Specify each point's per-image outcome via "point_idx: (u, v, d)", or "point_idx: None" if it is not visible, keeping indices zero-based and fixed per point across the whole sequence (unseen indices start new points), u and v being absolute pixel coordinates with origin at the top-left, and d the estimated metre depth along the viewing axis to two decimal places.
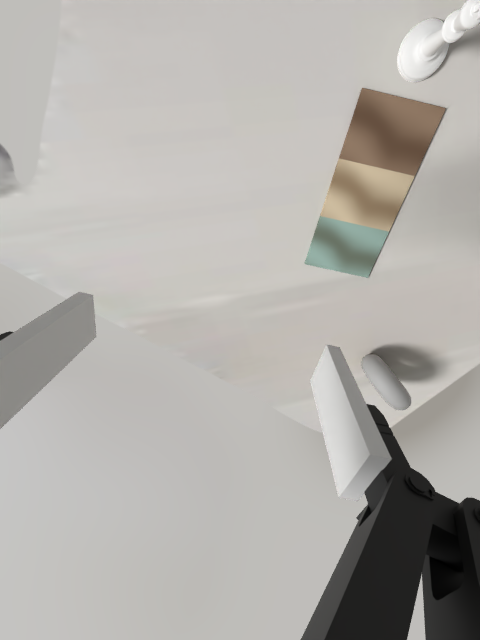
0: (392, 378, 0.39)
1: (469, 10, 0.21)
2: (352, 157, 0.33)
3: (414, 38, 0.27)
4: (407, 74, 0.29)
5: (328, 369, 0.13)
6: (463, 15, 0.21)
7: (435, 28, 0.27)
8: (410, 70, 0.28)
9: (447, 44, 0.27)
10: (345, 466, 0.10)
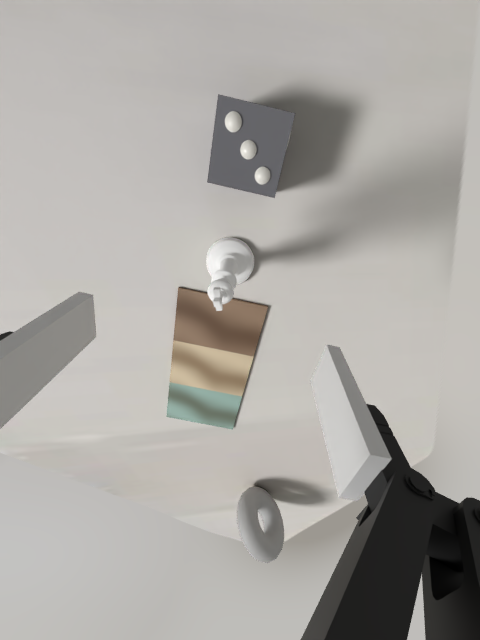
0: (255, 534, 0.39)
1: (213, 294, 0.20)
2: (185, 339, 0.32)
3: (214, 256, 0.26)
4: None
5: (328, 369, 0.13)
6: (209, 296, 0.20)
7: (232, 250, 0.25)
8: None
9: (250, 261, 0.26)
10: (345, 466, 0.10)
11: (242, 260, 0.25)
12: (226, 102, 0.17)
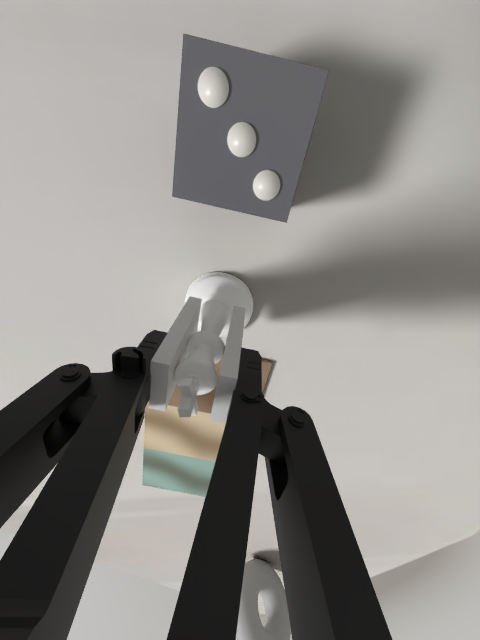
0: (255, 636, 0.30)
1: None
2: None
3: None
4: None
5: None
6: (177, 384, 0.12)
7: (221, 292, 0.17)
8: None
9: (247, 306, 0.18)
10: None
11: (235, 305, 0.18)
12: (199, 49, 0.09)
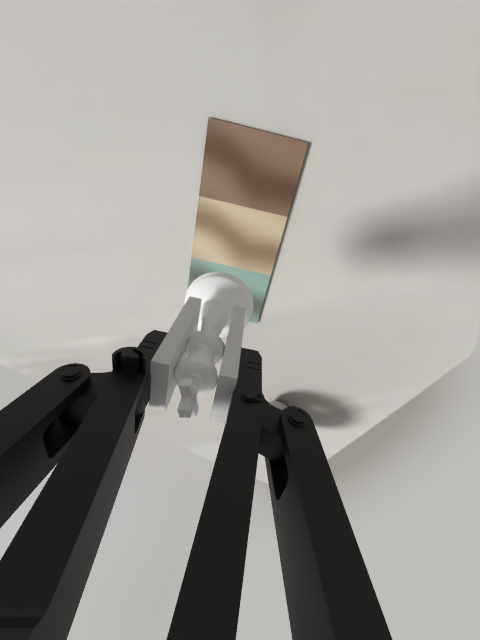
0: None
1: None
2: (213, 194, 0.28)
3: None
4: None
5: None
6: (177, 384, 0.12)
7: (221, 292, 0.17)
8: None
9: (247, 306, 0.18)
10: None
11: (235, 305, 0.18)
12: None
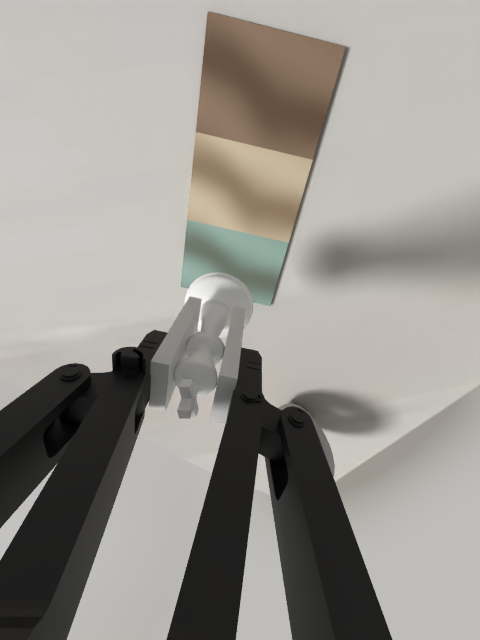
0: None
1: None
2: (214, 130, 0.21)
3: None
4: None
5: None
6: (177, 384, 0.12)
7: (221, 292, 0.17)
8: None
9: (247, 307, 0.18)
10: None
11: (235, 305, 0.18)
12: None
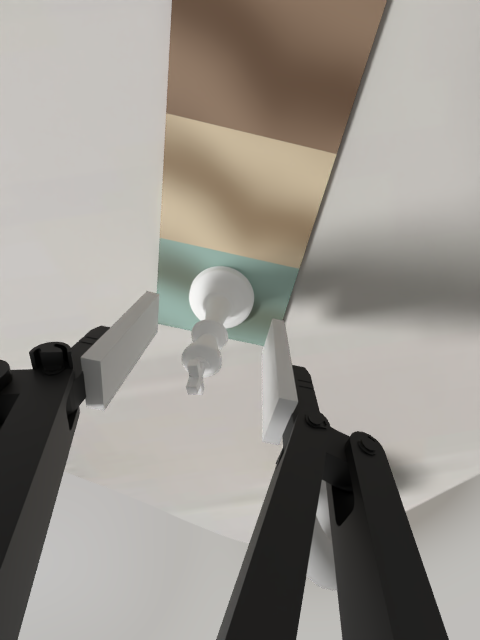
0: (315, 538, 0.21)
1: None
2: (193, 110, 0.15)
3: (199, 292, 0.19)
4: None
5: (270, 339, 0.15)
6: (184, 366, 0.13)
7: (224, 284, 0.18)
8: None
9: (248, 299, 0.19)
10: (268, 414, 0.11)
11: (237, 297, 0.19)
12: None
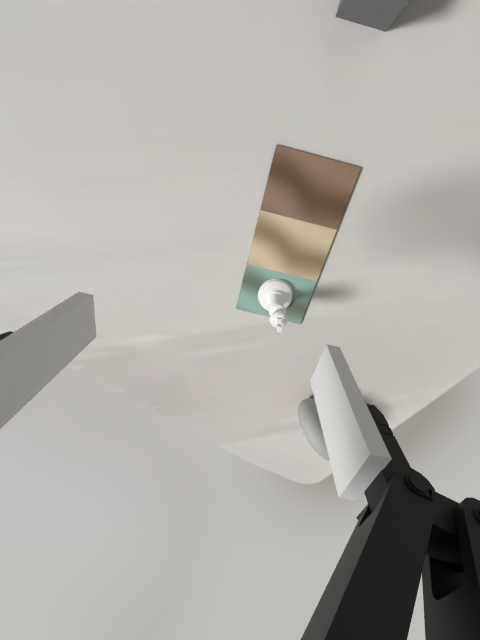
0: None
1: (274, 321, 0.30)
2: (272, 209, 0.32)
3: (265, 292, 0.36)
4: (265, 308, 0.38)
5: (328, 369, 0.13)
6: (271, 322, 0.30)
7: (278, 288, 0.36)
8: (266, 307, 0.37)
9: (290, 296, 0.36)
10: (345, 466, 0.10)
11: (285, 295, 0.36)
12: None
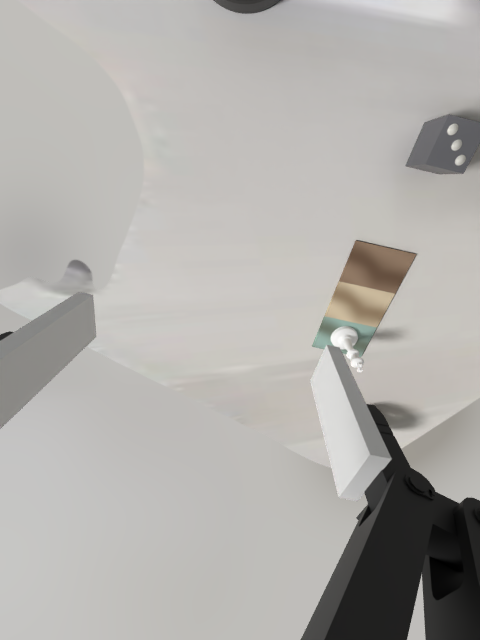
0: None
1: (354, 363, 0.43)
2: (348, 281, 0.45)
3: (338, 336, 0.49)
4: None
5: (328, 369, 0.13)
6: (352, 364, 0.43)
7: (348, 333, 0.48)
8: (337, 346, 0.50)
9: (356, 338, 0.49)
10: (345, 466, 0.10)
11: (353, 338, 0.49)
12: (452, 118, 0.30)
